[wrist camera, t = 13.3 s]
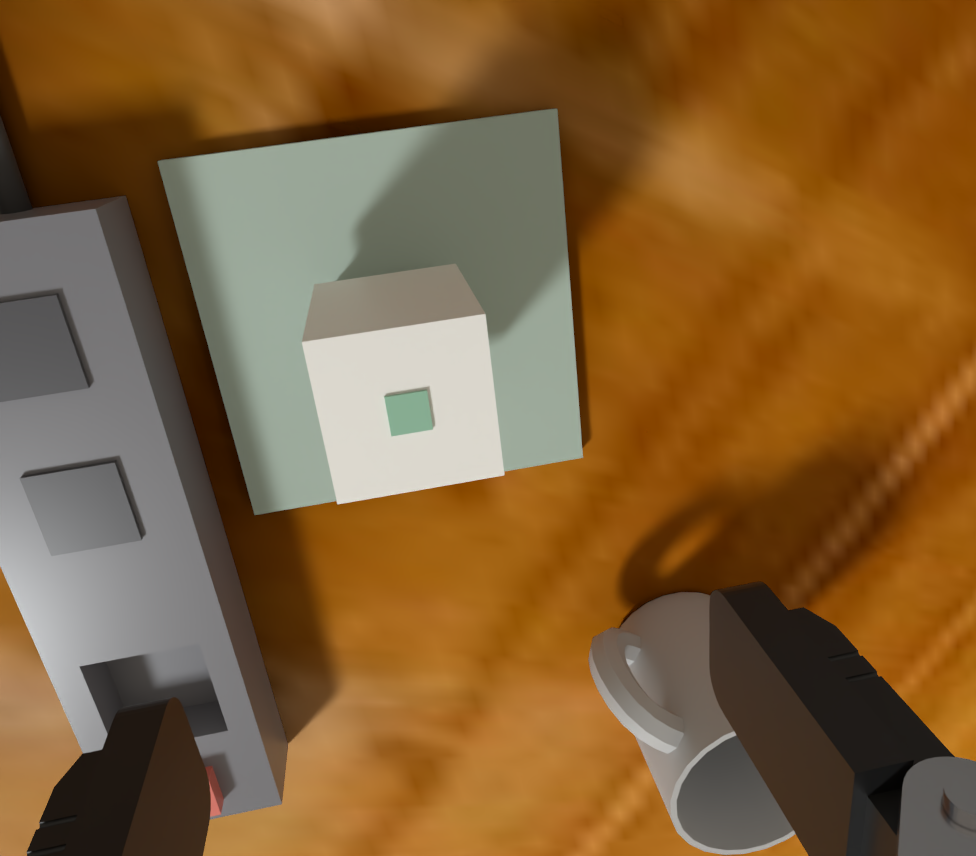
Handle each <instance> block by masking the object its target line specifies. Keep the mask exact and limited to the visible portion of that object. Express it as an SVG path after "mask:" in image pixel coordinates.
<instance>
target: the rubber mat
mask: <svg viewBox="0 0 976 856" xmlns="http://www.w3.org/2000/svg"><path fill="white" fill-rule="evenodd" d="M157 162H158V165H159V169H160V173H161V176H162V180H163V184H164V187H165V191H166V195H167V198H168V202H169V205H170V209H171V213H172V216H173V220H174V224H175V227H176V231H177V235H178V238H179V242H180V246H181V249H182V253H183V256H184V260H185V264H186V267H187V271H188V275H189V278H190V282H191V286H192V289H193V293H194V296H195V300H196V304H197V307H198V311H199V315H200V318H201V322H202V326H203V329H204V333H205V337H206V340H207V344H208V347H209V351H210V355H211V358H212V362H213V366H214V369H215V373H216V377H217V380H218V384H219V387H220V391H221V395H222V398H223V402H224V406H225V409H226V413H227V417H228V420H229V424H230V428H231V431H232V435H233V438H234V442H235V446H236V449H237V453H238V457H239V460H240V464H241V468H242V471H243V475H244V478H245V482H246V486H247V489H248V493H249V497H250V500H251V504H252V508H253V511H254V515H259V514H265V513H270V512H276V511H282V510H287V509H293V508H299V507H304V506H310V505H316V504H322V503H327V502H333V501H337V500H336V496H335V491H334V486H333V482H332V477H331V473H330V468H329V464H328V459H327V455H326V450H325V446H324V441H323V437H322V432H321V427H320V423H319V418H318V414H317V409H316V405H315V400H314V396H313V391H312V387H311V382H310V378H309V373H308V369H307V364H306V359H305V355H304V350H303V346H302V338H303V334H304V329H305V325H306V320H307V315H308V311H309V306H310V302H311V297H312V293H313V288H314V284H319V283H326V282H333V281H340V280H347V279H353V278H360V277H367V276H374V275H381V274H388V273H394V272H401V271H408V270H415V269H422V268H428V267H435V266H442V265H449V264H456V265H457V267H458V268H459V270H460V272H461V273H462V275H463V277H464V278H465V280H466V282H467V283H468V285H469V287H470V289H471V290H472V292H473V294H474V295H475V297H476V299H477V300H478V302H479V304H480V305H481V307H482V309H483V310H484V312H485V314H486V322H487V331H488V339H489V348H490V356H491V365H492V373H493V382H494V390H495V399H496V407H497V416H498V424H499V433H500V441H501V450H502V458H503V467H504V471H509V470H515V469H521V468H526V467H532V466H538V465H543V464H549V463H555V462H561V461H566V460H572V459H578V458H583V452H582V438H581V425H580V411H579V397H578V384H577V370H576V356H575V342H574V329H573V315H572V301H571V288H570V274H569V260H568V247H567V233H566V219H565V206H564V192H563V178H562V165H561V151H560V137H559V124H558V110H557V109H554V108H553V109H546V110H538V111H531V112H523V113H515V114H508V115H500V116H493V117H485V118H477V119H470V120H462V121H455V122H447V123H439V124H432V125H424V126H416V127H409V128H401V129H394V130H386V131H378V132H371V133H363V134H356V135H348V136H340V137H333V138H325V139H317V140H310V141H302V142H295V143H287V144H279V145H272V146H264V147H257V148H249V149H241V150H234V151H226V152H218V153H211V154H203V155H196V156H188V157H180V158H173V159H165V160H160V161H157Z"/></svg>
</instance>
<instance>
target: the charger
mask: <svg viewBox="0 0 976 856" xmlns="http://www.w3.org/2000/svg"><path fill="white" fill-rule="evenodd" d="M302 346H303V350H304V355H305V359H306V364H307V369H308V373H309V378H310V382H311V387H312V391H313V396H314V400H315V405H316V409H317V414H318V418H319V423H320V427H321V432H322V437H323V441H324V446H325V450H326V455H327V459H328V464H329V468H330V473H331V477H332V482H333V486H334V491H335V496H336V500H337V504H342V503H348V502H354V501H360V500H365V499H371V498H377V497H383V496H388V495H394V494H400V493H406V492H411V491H417V490H423V489H428V488H434V487H440V486H446V485H451V484H457V483H463V482H469V481H474V480H480V479H486V478H492V477H497V476H503V475H504V467H503V458H502V450H501V441H500V433H499V424H498V416H497V407H496V399H495V390H494V382H493V373H492V365H491V356H490V348H489V339H488V331H487V322H486V314H485V312H484V310H483V309H482V307H481V305H480V304H479V302H478V300H477V299H476V297H475V295H474V294H473V292H472V290H471V289H470V287H469V285H468V283H467V282H466V280H465V278H464V277H463V275H462V273H461V272H460V270H459V268H458V267H457V265H456V264H449V265H442V266H435V267H428V268H422V269H415V270H408V271H401V272H394V273H388V274H381V275H374V276H367V277H360V278H353V279H347V280H340V281H333V282H326V283H319V284H314V288H313V293H312V297H311V302H310V306H309V311H308V315H307V320H306V325H305V329H304V334H303V338H302Z"/></svg>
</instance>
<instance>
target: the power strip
mask: <svg viewBox="0 0 976 856" xmlns="http://www.w3.org/2000/svg"><path fill="white" fill-rule="evenodd" d="M0 566H1V569H2V571H3V573H4V575H5V578H6V580H7V582H8V585H9V587H10V589H11V591H12V594H13V596H14V598H15V600H16V603H17V605H18V607H19V609H20V612H21V614H22V616H23V618H24V621H25V623H26V625H27V627H28V630H29V632H30V634H31V637H32V639H33V641H34V643H35V646H36V648H37V650H38V652H39V655H40V657H41V659H42V661H43V664H44V666H45V668H46V670H47V673H48V675H49V677H50V679H51V682H52V684H53V686H54V688H55V691H56V693H57V695H58V698H59V700H60V702H61V704H62V707H63V709H64V711H65V713H66V716H67V718H68V720H69V722H70V725H71V727H72V729H73V731H74V734H75V736H76V738H77V740H78V743H79V745H80V747H81V750H82V752H83V753H88V752H93V751H98V750H102V748H103V746H104V743H105V740H106V738H107V735H108V732H109V730H110V727H111V724H112V722H113V719H114V717H115V715H116V713H117V711H118V710H119V709H120V708H122V707H127V706H131V705H136V704H141V703H146V702H151V701H156V700H161V699H166V698H171V697H176V698H178V699H179V701H180V702H181V704H182V706H183V708H184V711H185V714H186V716H187V719H188V722H189V725H190V727H191V730H192V733H193V736H194V738H195V741H196V744H197V747H198V749H199V752H200V755H201V758H202V760H203V763H204V766H205V769H206V772H207V775H208V779H209V785H210V794H211V812H210V819H214V818H219V817H223V816H228V815H233V814H238V813H242V812H247V811H252V810H257V809H261V808H266V807H271V806H275V805H280V804H282V798H283V789H284V779H285V770H286V760H287V750H288V743H287V739H286V736H285V732H284V729H283V726H282V722H281V719H280V716H279V712H278V709H277V705H276V702H275V699H274V695H273V692H272V689H271V685H270V682H269V678H268V675H267V672H266V668H265V665H264V661H263V658H262V655H261V651H260V648H259V645H258V641H257V638H256V634H255V631H254V628H253V624H252V621H251V617H250V614H249V611H248V607H247V604H246V601H245V597H244V594H243V590H242V587H241V584H240V580H239V577H238V573H237V570H236V567H235V563H234V560H233V557H232V553H231V550H230V546H229V543H228V540H227V536H226V533H225V529H224V526H223V523H222V519H221V516H220V513H219V509H218V506H217V502H216V499H215V496H214V492H213V489H212V485H211V482H210V479H209V475H208V472H207V469H206V465H205V462H204V458H203V455H202V452H201V448H200V445H199V441H198V438H197V435H196V431H195V428H194V425H193V421H192V418H191V414H190V411H189V408H188V404H187V401H186V397H185V394H184V391H183V387H182V384H181V381H180V377H179V374H178V370H177V367H176V364H175V360H174V357H173V353H172V350H171V347H170V343H169V340H168V337H167V333H166V330H165V326H164V323H163V320H162V316H161V313H160V309H159V306H158V303H157V299H156V296H155V293H154V289H153V286H152V282H151V279H150V276H149V272H148V269H147V265H146V262H145V259H144V255H143V252H142V249H141V245H140V242H139V238H138V235H137V232H136V228H135V225H134V221H133V218H132V215H131V211H130V208H129V205H128V201H127V198H126V196H119V197H111V198H104V199H97V200H89V201H82V202H74V203H67V204H60V205H52V206H45V207H37V208H32V205H31V202H30V199H29V197H28V194H27V191H26V188H25V185H24V182H23V179H22V176H21V173H20V170H19V168H18V165H17V162H16V159H15V156H14V153H13V150H12V147H11V144H10V142H9V139H8V136H7V133H6V130H5V127H4V124H3V121H2V118H1V115H0Z"/></svg>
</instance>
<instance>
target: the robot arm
mask: <svg viewBox="0 0 976 856" xmlns="http://www.w3.org/2000/svg"><path fill="white" fill-rule="evenodd" d="M709 670H710V677H711V682H712V687H713V690H714V693H715V696H716V699H717V702H718V704H719V706H720V708H721V710H722V712H723V713H724V715H725V717H726V718H727V720H728V722H729V723H730V725H731V727H732V728H733V730H734V732H735V733H736V735H737V737H738V738H739V740H740V742H741V743H742V745H743V747H744V748H745V750H746V752H747V753H748V755H749V757H750V758H751V760H752V762H753V763H754V765H755V767H756V768H757V770H758V772H759V773H760V775H761V777H762V778H763V780H764V782H765V783H766V785H767V787H768V788H769V790H770V792H771V793H772V795H773V797H774V798H775V800H776V802H777V803H778V805H779V807H780V808H781V810H782V812H783V813H784V815H785V817H786V818H787V820H788V822H789V823H790V825H791V827H792V828H793V830H794V832H795V833H796V835H797V837H798V838H799V840H800V842H801V843H802V845H803V847H804V848H805V850H806V852H807V853H808V855H809V856H976V762H975V761H972V760H968V759H963V758H958V757H954V756H953V755H952V754H951V753H950V751H949V750H948V749H947V748H946V747H945V746H944V745H943V744H942V743H941V742H940V740H939V739H938V738H937V737H936V736H935V735H934V734H933V733H932V732H931V731H930V729H929V728H928V727H927V726H926V725H925V724H924V723H923V722H922V721H921V719H920V718H919V717H918V716H917V715H916V714H915V713H914V712H913V711H912V710H911V708H910V707H909V706H908V705H907V704H906V703H905V702H904V701H903V700H902V699H901V697H900V696H899V695H898V694H897V693H896V692H895V691H894V690H893V689H892V688H891V686H890V685H889V684H888V683H887V682H886V681H885V680H884V679H883V678H882V677H878V675H877V671H876V670H875V669H874V668H873V667H872V666H871V664H870V663H869V662H868V661H867V660H866V659H865V658H864V657H863V656H860V655H859V653H858V650H857V649H856V648H855V647H854V646H853V645H852V643H851V642H850V641H849V640H848V639H847V638H846V637H845V636H844V635H843V634H842V632H841V631H840V630H839V629H838V628H837V627H836V626H835V625H833V624H831V623H830V622H828V621H826V620H824V619H823V618H821V617H819V616H817V615H816V614H814V613H812V612H811V611H809V610H807V609H805V608H804V607H803V608H798V609H794V610H789V611H788V610H787V609H786V607H785V606H784V605H783V604H782V603H781V601H780V600H779V599H778V598H777V597H776V596H775V594H774V593H773V592H772V591H771V590H770V588H769V587H768V586H767V585H766V584H764V583H763V582H753V583H748V584H743V585H738V586H733V587H728V588H723V589H718V590H714V591H713V592H712V593H711V596H710V603H709ZM210 812H211V794H210V785H209V779H208V775H207V772H206V769H205V766H204V763H203V760H202V758H201V755H200V752H199V749H198V747H197V744H196V741H195V738H194V736H193V733H192V730H191V727H190V725H189V722H188V719H187V716H186V714H185V711H184V708H183V706H182V704H181V702H180V701H179V699H178V698H176V697H171V698H166V699H161V700H156V701H151V702H146V703H141V704H136V705H131V706H127V707H122V708H120V709H119V710H118V711H117V713H116V715H115V717H114V719H113V722H112V724H111V727H110V730H109V732H108V735H107V738H106V740H105V743H104V746H103V748H102V750H98V751H93V752H88V753H83V754H82V755H81V756H80V757H79V759H78V760H77V761H76V762H75V763H74V765H73V766H72V767H71V768H70V769H69V770H68V772H67V773H66V774H65V775H64V776H63V778H62V779H61V780H60V781H59V782H58V783H57V785H56V786H55V787H54V789H53V791H52V794H51V796H50V799H49V801H48V803H47V806H46V808H45V810H44V813H43V815H42V817H41V820H40V822H39V823H40V828H39V829H38V830H36V831H35V834H34V836H33V839H32V841H31V843H30V846H29V848H28V850H27V856H203V851H204V846H205V841H206V836H207V831H208V826H209V820H210Z"/></svg>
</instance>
